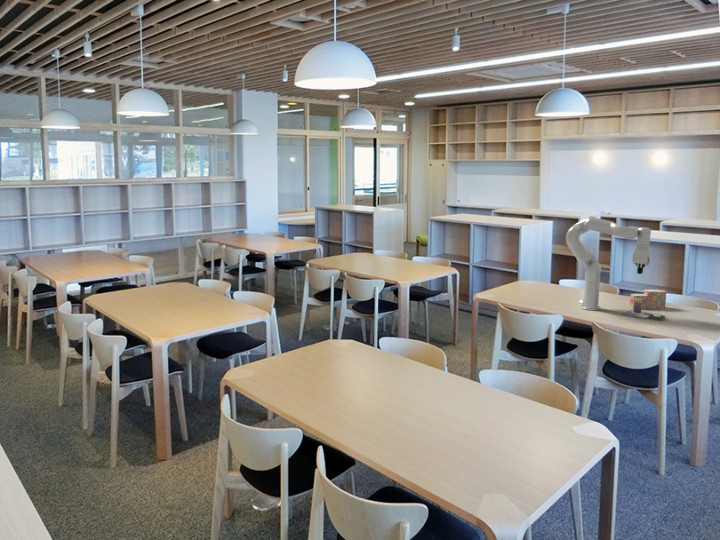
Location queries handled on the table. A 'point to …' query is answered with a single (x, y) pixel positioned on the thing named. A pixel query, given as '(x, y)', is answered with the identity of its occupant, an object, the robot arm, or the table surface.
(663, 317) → the button housing
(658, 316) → the button
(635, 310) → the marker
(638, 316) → the picture board
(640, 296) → the stack of blocks
